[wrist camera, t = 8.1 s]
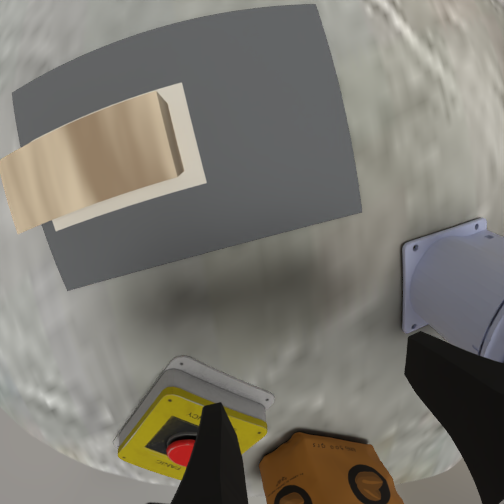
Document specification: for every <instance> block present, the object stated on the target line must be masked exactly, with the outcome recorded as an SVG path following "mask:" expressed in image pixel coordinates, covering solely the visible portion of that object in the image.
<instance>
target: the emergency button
mask: <svg viewBox="0 0 504 504" xmlns="http://www.w3.org/2000/svg"><path fill="white" fill-rule="evenodd" d="M274 401H275V400H274V395H273V394H272V393H271V392H269V391H266V390H264V389H261V388H259V387H256V386H254V385H252V384H249V383H247V382H244V381H242V380H240V379H237V378H235V377H233V376H230V375H228V374H226V373H224V372H221V371H219V370H217V369H215V368H213V367H210V366H208V365H206V364H204V363H202V362H200V361H198V360H196V359H194V358H191V357H189V356H185V355H181V356H176V357H175V358H174V359H172V360H171V361H170V363H169V364H168V365H167V367H166V368H165V369H164V371H163V372H162V374H161V375H160V376H159V378H158V379H157V381H156V382H155V383H154V385H153V386H152V388H151V389H150V390H149V392H148V393H147V395H146V396H145V397H144V399H143V400H142V401H141V403H140V404H139V406H138V407H137V408H136V410H135V411H134V413H133V414H132V415H131V417H130V418H129V420H128V421H127V422H126V424H125V425H124V427H123V428H122V429H121V431H120V432H119V434H118V435H117V436H116V438H115V439H114V441H113V445H114V446H115V447H116V448H117V449H118V457H119V458H120V459H122V460H123V461H126V462H128V463H131V464H133V465H136V466H139V467H142V468H144V469H147V470H150V471H153V472H156V473H159V474H162V475H165V476H168V477H172V478H175V479H178V480H182V478H183V475H184V473H185V470H186V467H187V465H188V462H189V459H190V456H191V453H192V450H193V446H194V443H195V440H196V436H197V432H198V428H199V424H200V419H201V414H202V408H203V407H204V406H206V405H210V404H214V403H219V402H222V405H223V407H224V409H225V411H226V413H227V415H228V417H229V420H230V422H231V424H232V426H233V428H234V430H235V432H236V434H237V438H238V442H239V446H240V450H241V455H242V454H244V453H245V452H246V451H247V450H249V449H250V448H251V447H252V446H253V445H255V444H256V443H257V442H258V441H259V440H261V439H262V438H263V437H264V436H265V435H266V434H267V423H266V414H265V411H266V410H267V409H268V408H269V407H271V406H272V404H273V403H274Z"/></svg>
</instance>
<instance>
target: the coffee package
mask: <svg viewBox="0 0 504 504" xmlns="http://www.w3.org/2000/svg"><path fill="white" fill-rule="evenodd" d="M259 468H260V472H261V477H262V482H263V488H264V492H265V496H266V501H267V504H404V503H403V500H402V499H401V498H400V496H399V495H398V494H397V492H396V489H395V486H394V482H393V478H392V477H391V475H390V474H389V472H388V471H387V469H386V468H385V467H384V465H383V463H382V462H381V461H380V459H379V457H378V455H377V454H376V452H375V450H374V448H373V446H372V445H371V444H362V443H356V442H350V441H345V440H340V439H335V438H331V437H324V436H317V435H309V434H305V433H301V432H297V433H295V434H293V435H292V437H291V439H290V440H289V441H288V442H286V443H283V444H282V445H280V447H279V448H277V449H276V450H275V451H273V452H272V453H269V454H268V455H266V456H264V457H263V460H262V461H261V462H260V464H259Z"/></svg>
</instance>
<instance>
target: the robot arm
mask: <svg viewBox="0 0 504 504" xmlns="http://www.w3.org/2000/svg"><path fill="white" fill-rule="evenodd" d="M475 225H476V226H475ZM414 245H415V248H414V249H413V247H414ZM402 254H403V322H402V330H403V331H404V332H405V333H410V332H412V331H415V330H417V329H419V328H421V327H423V326H426V325H428V324H429V325H430V326H431V327H432V328H434V329H435V330H436V331H437V332H438V333H439V334H440V335H441V336H442V337H443V338H444V339H446V340H447V341H448V342H449V343H447V342H445V341H443V340H440V339H438V338H436V337H434V336H431V335H429V334H426V333H424V332H421V331H420V332H418V333H416V334H413V335H411V336H409V337H408V345H407V355H406V365H405V373H404V374H405V376H406V378H407V379H408V381H409V383H410V384H411V386H412V388H413V389H414V391H415V392H416V394H417V395H418V396H419V398H420V399H421V400H422V401H423V403H424V404H425V405H426V406H427V407H428V409H429V410H430V411H431V412H432V413H433V415H434V416H435V417H436V418H437V420H438V421H439V422H440V423H441V424H442V426H443V427H444V428H445V429H446V431H447V432H448V434H449V435H450V436H451V438H452V440H453V441H454V443H455V445H456V446H457V448H458V450H459V451H460V453H461V455H462V457H463V459H464V461H465V462H466V464H467V466H468V469H469V470H470V473H471V475H472V477H473V479H474V482H475V484H476V487H477V489H478V492H479V495H480V497H481V501H482V504H499V503H500V502H501V501H502V500H504V237H503V236H500V235H498V234H496V233H493V232H491V231H489V230H487V221H486V219H485V218H479V219H476V220H473V221H470V222H467V223H464V224H461V225H458V226H455V227H452V228H449V229H446V230H443V231H440V232H437V233H434V234H431V235H428V236H425V237H422V238H419V239H415V240H412V241H409V242H407V243H405V244H404V246H403V249H402ZM413 324H414V325H413ZM412 325H413V326H412ZM171 504H248V498H247V490H246V483H245V475H244V467H243V459H242V455H241V450H240V446H239V442H238V438H237V434H236V432H235V430H234V428H233V426H232V424H231V422H230V420H229V417H228V415H227V413H226V411H225V409H224V407H223V405H222V402H219V403H214V404H210V405H206V406H204V407H203V408H202V414H201V419H200V424H199V428H198V432H197V436H196V440H195V443H194V446H193V450H192V453H191V456H190V459H189V462H188V465H187V467H186V470H185V473H184V475H183V478H182V480H181V483H180V485H179V487H178V490H177V492H176V494H175V496H174V498H173V500H172V502H171Z"/></svg>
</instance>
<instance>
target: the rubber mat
mask: <svg viewBox="0 0 504 504" xmlns="http://www.w3.org/2000/svg"><path fill="white" fill-rule="evenodd" d="M153 91H157V92H158V93H159V94H160V96H161V97H162V98H163V99H164V100H165V101H166V102H167V103H168V107H169V111H170V115H171V120H172V124H173V128H174V132H175V136H176V140H177V144H178V148H179V152H180V156H181V159H182V163H183V167H184V172H183V173H182V174H180V175H179V176H178V177H176V178H173V179H169V180H166V181H163V182H159V183H156V184H153V185H149V186H146V187H143V188H140V189H137V190H134V191H131V192H128V193H125V194H122V195H119V196H116V197H113V198H110V199H107V200H104V201H101V202H98V203H96V204H93V205H90V206H87V207H84V208H82V209H79V210H76V211H74V212H71V213H68V214H66V215H63V216H61V217H58V218H56V219H53V220H51V221H48V222H46V223H43V224H42V227H43V230H44V233H45V236H46V239H47V241H48V244H49V247H50V250H51V252H52V255H53V257H54V260H55V262H56V265H57V267H58V270H59V272H60V275H61V277H62V280H63V282H64V284H65V286H66V289H67V291H69V290H72V289H76V288H80V287H83V286H87V285H90V284H94V283H97V282H101V281H105V280H108V279H112V278H116V277H119V276H123V275H126V274H130V273H134V272H137V271H141V270H145V269H148V268H152V267H156V266H159V265H163V264H167V263H170V262H174V261H178V260H181V259H185V258H189V257H193V256H196V255H200V254H204V253H208V252H211V251H215V250H219V249H223V248H226V247H230V246H234V245H238V244H241V243H245V242H249V241H253V240H257V239H260V238H264V237H268V236H272V235H276V234H280V233H283V232H287V231H291V230H295V229H299V228H303V227H307V226H310V225H314V224H318V223H322V222H326V221H330V220H334V219H338V218H342V217H346V216H350V215H353V214H357V213H361V212H362V206H361V199H360V192H359V185H358V178H357V172H356V166H355V160H354V154H353V148H352V143H351V138H350V133H349V128H348V123H347V118H346V113H345V109H344V104H343V100H342V95H341V91H340V87H339V83H338V79H337V75H336V71H335V67H334V63H333V60H332V56H331V53H330V49H329V46H328V42H327V39H326V35H325V32H324V29H323V26H322V22H321V19H320V16H319V13H318V10H317V7H316V4H303V5H285V6H272V7H262V8H253V9H245V10H238V11H232V12H226V13H220V14H215V15H209V16H204V17H200V18H195V19H191V20H186V21H182V22H178V23H174V24H171V25H167V26H163V27H160V28H156V29H153V30H150V31H146V32H143V33H140V34H137V35H134V36H131V37H128V38H125V39H122V40H120V41H117V42H114V43H112V44H109V45H106V46H104V47H101V48H99V49H96V50H94V51H92V52H89V53H87V54H85V55H82V56H80V57H78V58H76V59H74V60H71V61H69V62H67V63H65V64H63V65H61V66H59V67H57V68H55V69H53V70H51V71H49V72H47V73H45V74H44V75H42V76H40V77H38V78H36V79H34V80H33V81H31V82H29V83H27V84H26V85H24V86H22V87H21V88H19V89H17V90H16V91H14V92H13V93H12V98H13V106H14V112H15V119H16V125H17V131H18V136H19V141H20V146H21V147H23V146H25V145H27V144H29V143H31V142H32V141H34V140H36V139H38V138H40V137H42V136H44V135H46V134H48V133H50V132H52V131H54V130H56V129H58V128H61V127H63V126H65V125H67V124H69V123H71V122H74V121H76V120H78V119H81V118H83V117H85V116H88V115H90V114H92V113H95V112H97V111H100V110H102V109H105V108H107V107H110V106H113V105H115V104H118V103H121V102H124V101H126V100H129V99H132V98H135V97H138V96H141V95H144V94H147V93H150V92H153Z"/></svg>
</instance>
